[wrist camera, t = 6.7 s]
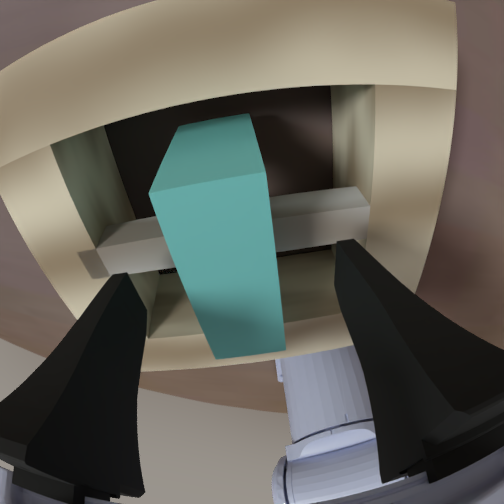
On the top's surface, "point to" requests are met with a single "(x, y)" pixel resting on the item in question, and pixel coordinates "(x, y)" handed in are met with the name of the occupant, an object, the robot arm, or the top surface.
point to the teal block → (222, 234)
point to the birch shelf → (222, 84)
